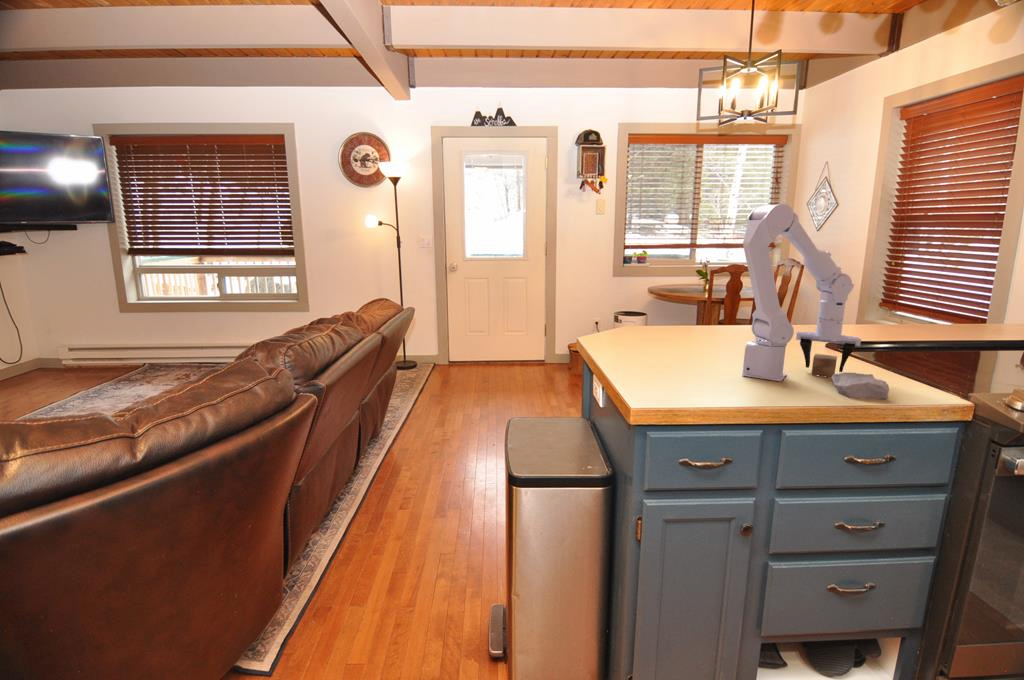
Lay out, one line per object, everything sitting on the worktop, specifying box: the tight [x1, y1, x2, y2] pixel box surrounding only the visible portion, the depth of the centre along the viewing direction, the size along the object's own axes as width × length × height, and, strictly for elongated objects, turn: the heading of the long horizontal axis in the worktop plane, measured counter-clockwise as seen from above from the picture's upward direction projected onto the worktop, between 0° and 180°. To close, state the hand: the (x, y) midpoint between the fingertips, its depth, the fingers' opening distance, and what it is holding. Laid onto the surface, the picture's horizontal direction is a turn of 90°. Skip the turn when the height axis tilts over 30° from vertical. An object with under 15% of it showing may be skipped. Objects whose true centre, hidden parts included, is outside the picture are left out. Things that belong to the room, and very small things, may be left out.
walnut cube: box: [811, 353, 838, 378], centre depth 140 cm, size 5×5×5 cm
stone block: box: [830, 371, 890, 400], centre depth 126 cm, size 12×5×10 cm
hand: (823, 368), depth 140 cm, fingers open, 7 cm apart
